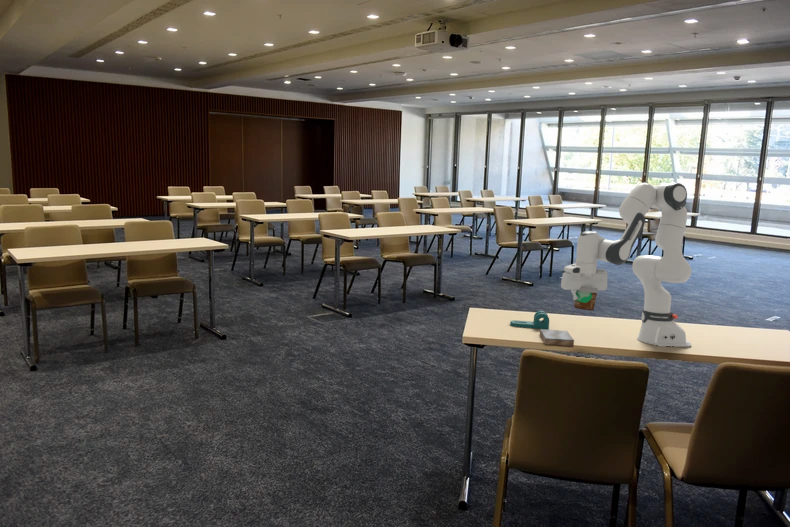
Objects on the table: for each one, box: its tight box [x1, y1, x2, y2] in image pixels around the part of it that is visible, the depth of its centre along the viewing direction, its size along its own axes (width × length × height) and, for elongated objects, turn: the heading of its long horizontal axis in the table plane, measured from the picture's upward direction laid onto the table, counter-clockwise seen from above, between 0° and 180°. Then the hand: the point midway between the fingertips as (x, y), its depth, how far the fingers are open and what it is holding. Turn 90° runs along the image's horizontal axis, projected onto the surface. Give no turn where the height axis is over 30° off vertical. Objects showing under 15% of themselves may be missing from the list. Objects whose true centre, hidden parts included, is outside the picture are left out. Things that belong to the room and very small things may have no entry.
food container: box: [573, 286, 599, 311], centre depth 265 cm, size 12×6×10 cm, turn 27°
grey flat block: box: [539, 329, 575, 347], centre depth 270 cm, size 12×16×3 cm
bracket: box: [509, 310, 550, 330], centre depth 294 cm, size 18×7×8 cm, turn 81°
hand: (582, 299), depth 265 cm, fingers closed on food container, 5 cm apart
